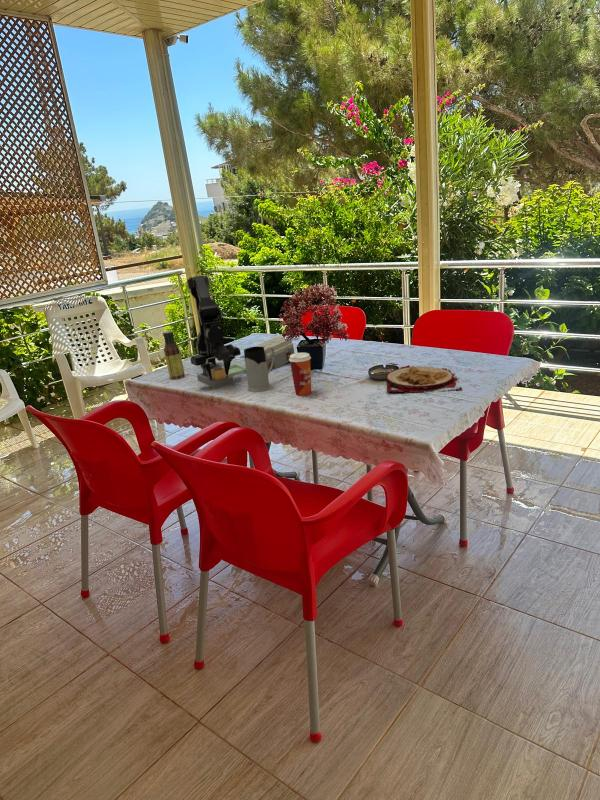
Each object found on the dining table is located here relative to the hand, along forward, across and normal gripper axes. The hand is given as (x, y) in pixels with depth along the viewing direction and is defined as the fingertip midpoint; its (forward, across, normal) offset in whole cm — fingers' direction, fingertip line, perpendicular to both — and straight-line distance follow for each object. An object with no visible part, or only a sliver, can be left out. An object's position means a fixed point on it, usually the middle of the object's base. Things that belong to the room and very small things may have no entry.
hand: (219, 377), depth 214 cm
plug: (+3, 0, 0) cm, 3 cm away
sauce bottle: (+4, -8, +24) cm, 26 cm away
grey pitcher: (+4, +11, -15) cm, 19 cm away
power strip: (+3, 0, +4) cm, 5 cm away
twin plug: (+3, 0, +8) cm, 8 cm away
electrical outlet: (+4, +28, +6) cm, 29 cm away
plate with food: (+4, +52, -56) cm, 77 cm away
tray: (+3, +11, +11) cm, 16 cm away
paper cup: (+4, +16, -34) cm, 38 cm away
